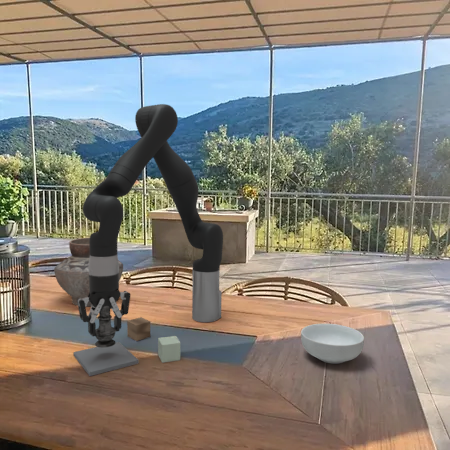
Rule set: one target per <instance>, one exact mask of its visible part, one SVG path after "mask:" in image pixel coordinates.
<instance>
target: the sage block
mask: <svg viewBox="0 0 450 450" xmlns="http://www.w3.org/2000/svg"><path fill="white" fill-rule="evenodd" d="M157 339H158V340H157V350H158V351H157V355H158V357H159V359H160V362H161V363H169V362H178V361H181V341H180V339H179V338H178V337H177V336H176V335H171V336H165V337H158V338H157Z"/></svg>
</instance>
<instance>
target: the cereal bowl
mask: <svg viewBox="0 0 450 450" xmlns="http://www.w3.org/2000/svg"><path fill="white" fill-rule="evenodd" d="M300 339H301V345H302V347H303V348H304V350H305V351H306V352H307V353H308V354H309V355H310V356H312V357H315V358H317V359H318V360H319V361H322V362H324V363H327V364H342V363H345V362H349V361H351V360H354V359H356V358H358V356H359V355H361V353H362V351H363V348H364V347H365V346H364V344H365V337H364V335H363V334H362V333H361V331H359V330H357V329H355V328H353V327H349V326H346V325H342V324H336V323H315V324H309V325H307V326H305V327H303V328H302V329H301V331H300Z"/></svg>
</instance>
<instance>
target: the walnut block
mask: <svg viewBox="0 0 450 450" xmlns="http://www.w3.org/2000/svg"><path fill="white" fill-rule="evenodd" d="M126 322H127V323H126V325H127V330H126V331H127V336H126V337H128V338H130V339H132V340H134V341H135V342H138V341H141V340H144V339H145V340H146V339H147V338H151V321H150V320H148V319H146V318H144V317H142V316H140V317H136V318H134V319H130V320H129V319H128V320H126Z"/></svg>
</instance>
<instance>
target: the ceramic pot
mask: <svg viewBox="0 0 450 450" xmlns="http://www.w3.org/2000/svg"><path fill="white" fill-rule="evenodd" d="M89 240H90V237H84V238H83V237H81V238H74V239H71V240H69V244H68V245H69V251H70V253H71V255H70V256H68V257H67V258H65V259H64V260H62V261H61V262H60V263H58V264H57V265H55V267H54V268H53V271H54V276H55V279H56V281H57V283H58V285H59V286H60V288H61V289H62V290H63V291H64V292H65V293H67V294H68V295H69V297H71V303H72V305H75V306H77V307H78V303H77V299H78V298H81V299H82V298H86V297H88V295H89V292H90V291H89V258H90V249H89ZM118 262H119V282H120V281H121V277H122V276H123V271H124V264H123V262H122V261H120V260H119V259H118ZM91 306H92V304H91V302H90V301H88V303H87V306H86V307H87V308H88V307H89V308H91Z"/></svg>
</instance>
